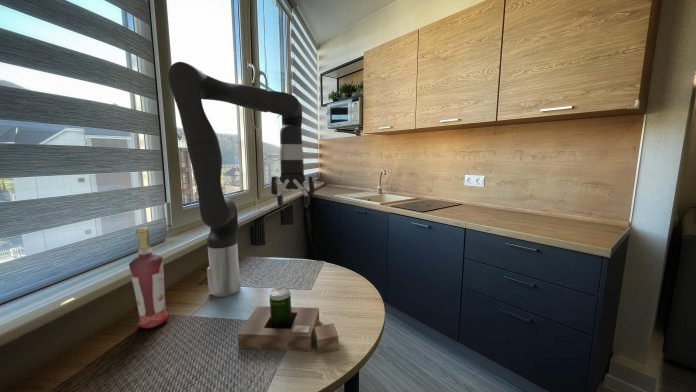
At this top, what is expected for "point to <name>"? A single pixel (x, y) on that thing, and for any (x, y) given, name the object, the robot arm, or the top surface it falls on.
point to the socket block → (279, 330)
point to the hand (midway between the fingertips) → (293, 206)
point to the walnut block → (326, 338)
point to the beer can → (280, 308)
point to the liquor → (148, 283)
